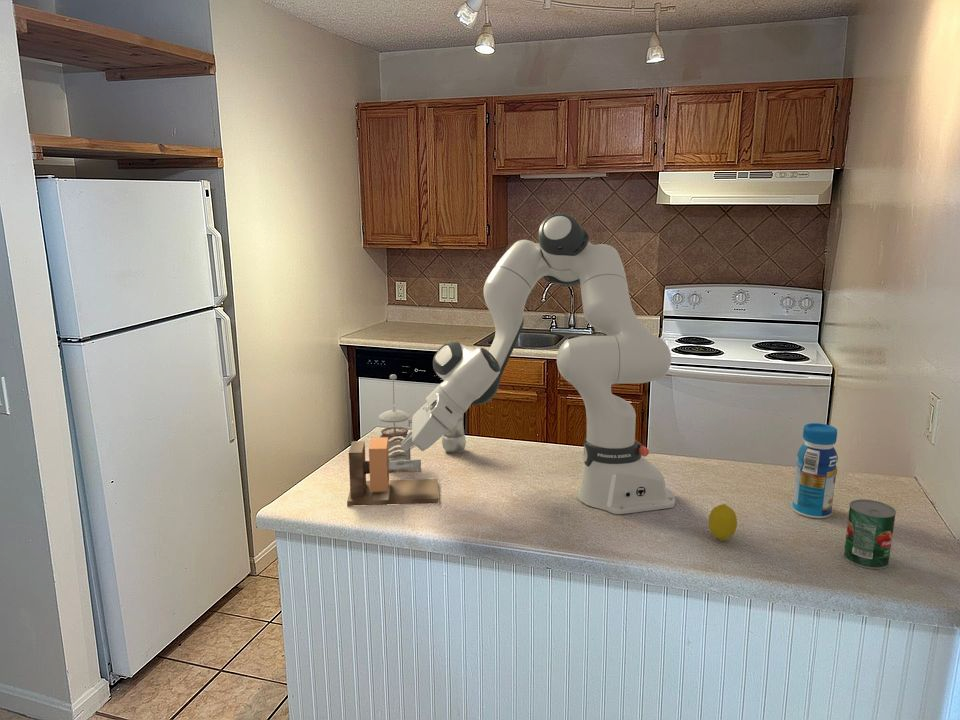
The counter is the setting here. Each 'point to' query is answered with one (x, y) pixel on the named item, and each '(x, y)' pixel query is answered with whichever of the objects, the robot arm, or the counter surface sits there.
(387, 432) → the french press
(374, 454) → the collar
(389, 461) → the steel pipe
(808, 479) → the beverage bottle
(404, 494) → the pipe stand
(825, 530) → the counter surface
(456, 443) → the plastic bottle
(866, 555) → the canned tomato
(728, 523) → the lemon
